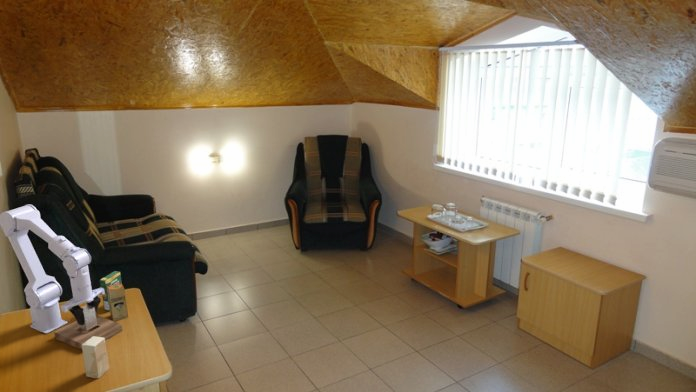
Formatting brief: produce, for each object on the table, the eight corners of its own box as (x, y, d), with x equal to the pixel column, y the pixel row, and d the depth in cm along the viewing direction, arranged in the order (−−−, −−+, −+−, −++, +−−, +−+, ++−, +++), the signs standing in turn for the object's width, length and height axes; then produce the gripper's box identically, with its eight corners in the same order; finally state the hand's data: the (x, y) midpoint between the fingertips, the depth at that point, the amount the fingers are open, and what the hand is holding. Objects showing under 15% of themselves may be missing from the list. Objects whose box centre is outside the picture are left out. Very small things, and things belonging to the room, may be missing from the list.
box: (98, 379, 144) (93, 347, 141) (85, 377, 145) (80, 345, 142) (110, 368, 149) (105, 337, 146) (97, 366, 150) (92, 335, 146)
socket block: (55, 338, 164) (54, 332, 163) (92, 319, 176) (91, 313, 175) (85, 351, 157) (84, 345, 156) (122, 330, 169) (121, 324, 168)
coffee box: (109, 312, 180) (105, 280, 177) (103, 310, 181) (98, 279, 177) (125, 301, 188) (121, 271, 184) (119, 300, 189) (114, 270, 185)
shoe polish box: (110, 315, 178) (106, 286, 175) (125, 311, 181) (121, 282, 178) (113, 321, 174) (109, 291, 171) (128, 317, 177) (124, 287, 174)
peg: (79, 327, 164) (76, 309, 162) (89, 322, 168) (86, 304, 166) (86, 330, 163) (83, 312, 161) (97, 325, 166) (94, 307, 164)
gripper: (68, 297, 153) (74, 334, 157) (108, 279, 165) (113, 314, 169) (54, 292, 156) (61, 328, 160) (94, 274, 168) (100, 309, 172)
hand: (87, 321), depth 165 cm, fingers closed on peg, 4 cm apart
